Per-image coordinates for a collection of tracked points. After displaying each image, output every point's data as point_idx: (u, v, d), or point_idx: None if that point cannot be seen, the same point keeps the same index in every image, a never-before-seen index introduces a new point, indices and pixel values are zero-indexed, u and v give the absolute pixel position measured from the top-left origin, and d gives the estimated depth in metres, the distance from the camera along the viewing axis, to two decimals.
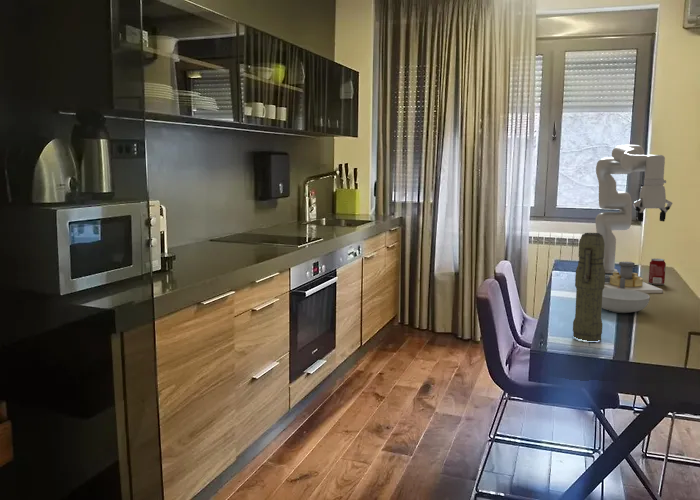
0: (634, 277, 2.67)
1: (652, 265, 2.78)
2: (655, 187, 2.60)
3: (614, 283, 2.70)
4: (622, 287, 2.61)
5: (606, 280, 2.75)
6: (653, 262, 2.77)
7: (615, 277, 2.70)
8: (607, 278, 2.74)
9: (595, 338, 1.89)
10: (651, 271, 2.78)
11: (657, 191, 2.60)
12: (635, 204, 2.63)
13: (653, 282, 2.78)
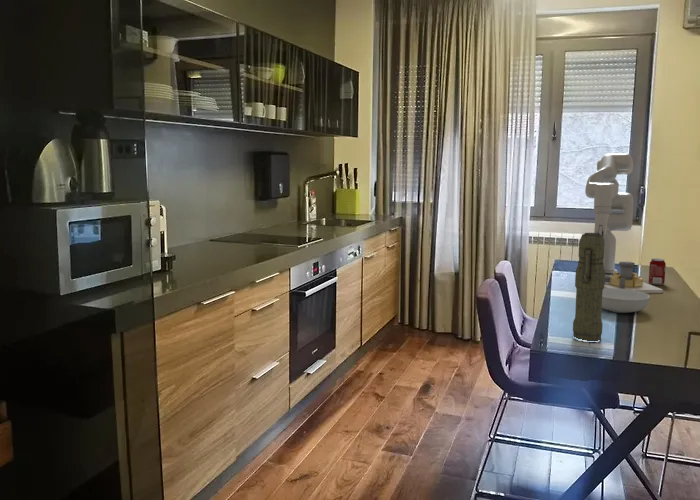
0: (634, 277, 2.67)
1: (652, 265, 2.78)
2: (607, 214, 2.75)
3: (614, 283, 2.70)
4: (622, 287, 2.61)
5: (606, 280, 2.75)
6: (653, 262, 2.77)
7: (615, 277, 2.70)
8: (607, 278, 2.74)
9: (595, 338, 1.89)
10: (651, 271, 2.78)
11: (607, 217, 2.77)
12: None
13: (653, 282, 2.78)
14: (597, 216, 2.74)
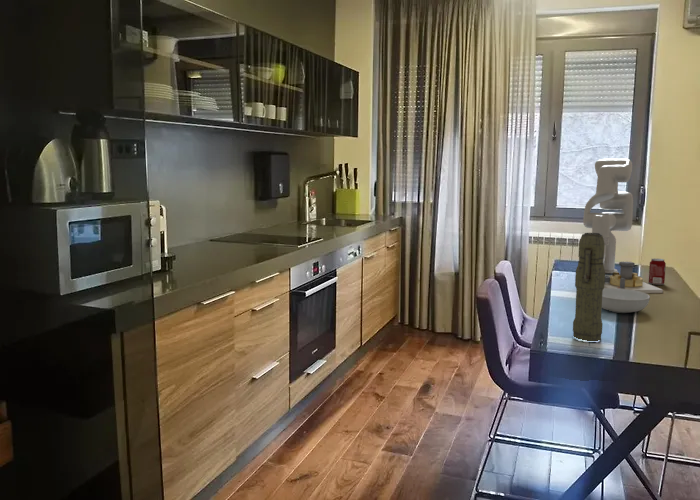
0: (634, 277, 2.67)
1: (652, 265, 2.78)
2: (605, 245, 2.75)
3: (614, 283, 2.70)
4: (622, 287, 2.61)
5: (606, 280, 2.74)
6: (653, 262, 2.77)
7: (615, 277, 2.70)
8: (607, 278, 2.74)
9: (595, 338, 1.89)
10: (651, 271, 2.78)
11: (605, 248, 2.76)
12: None
13: (653, 282, 2.78)
14: None
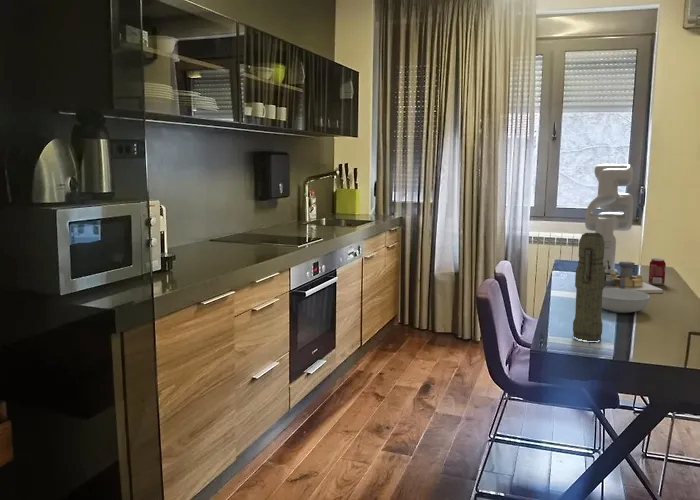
0: (638, 276, 2.70)
1: (652, 265, 2.78)
2: None
3: (625, 285, 2.67)
4: (622, 287, 2.61)
5: (614, 283, 2.68)
6: (653, 262, 2.77)
7: (626, 278, 2.66)
8: (615, 280, 2.68)
9: (595, 338, 1.89)
10: (651, 271, 2.78)
11: None
12: None
13: (653, 282, 2.78)
14: None
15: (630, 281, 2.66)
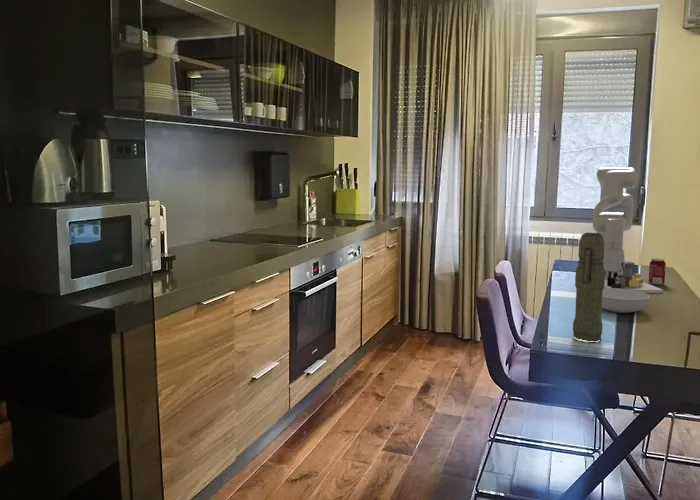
0: (638, 275, 2.72)
1: (652, 265, 2.78)
2: None
3: (633, 285, 2.66)
4: (622, 287, 2.61)
5: None
6: (653, 262, 2.77)
7: (633, 279, 2.66)
8: None
9: (595, 338, 1.89)
10: (651, 271, 2.78)
11: None
12: None
13: (653, 282, 2.78)
14: (619, 253, 2.58)
15: (637, 281, 2.66)
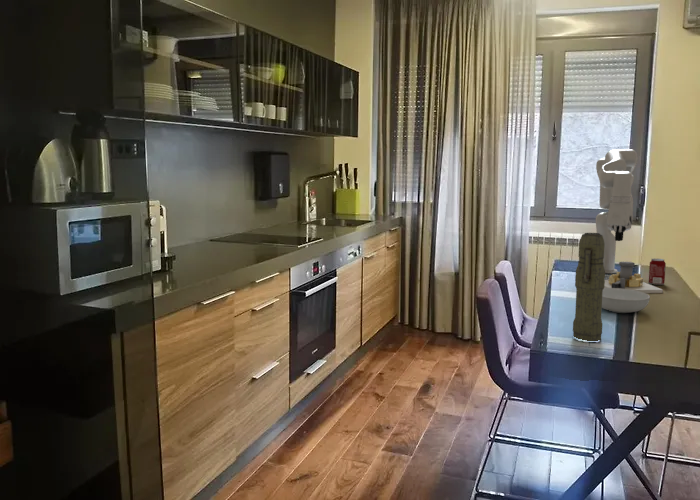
0: (638, 275, 2.72)
1: (652, 265, 2.78)
2: None
3: (633, 285, 2.66)
4: (622, 287, 2.61)
5: None
6: (653, 262, 2.77)
7: (633, 279, 2.66)
8: None
9: (595, 338, 1.89)
10: (651, 271, 2.78)
11: None
12: None
13: (653, 282, 2.78)
14: (627, 207, 2.61)
15: (637, 281, 2.66)
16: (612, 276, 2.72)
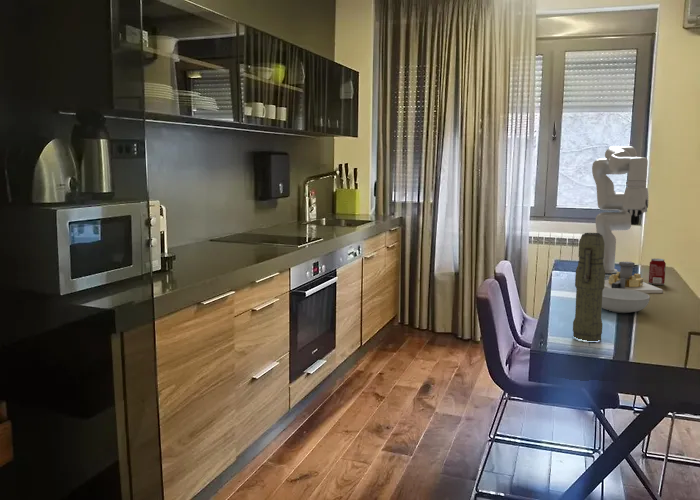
0: (638, 275, 2.72)
1: (652, 265, 2.78)
2: None
3: (633, 285, 2.66)
4: (622, 287, 2.61)
5: None
6: (653, 262, 2.77)
7: (633, 279, 2.66)
8: None
9: (595, 338, 1.89)
10: (651, 271, 2.78)
11: None
12: None
13: (653, 282, 2.78)
14: (643, 190, 2.65)
15: (637, 281, 2.66)
16: (612, 276, 2.72)
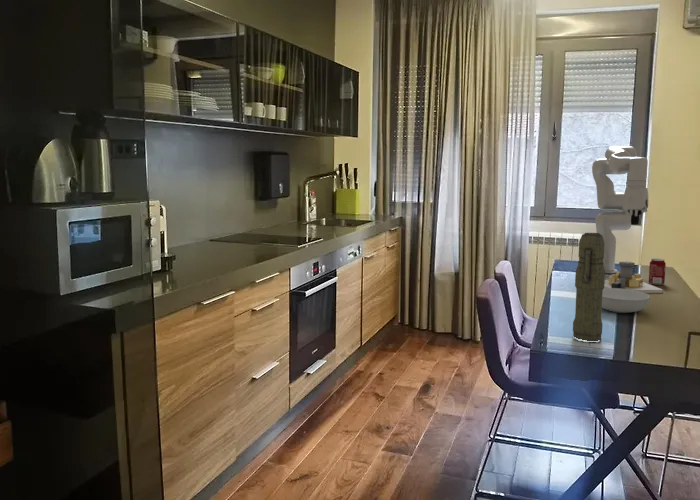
0: (638, 275, 2.72)
1: (652, 265, 2.78)
2: None
3: (633, 285, 2.66)
4: (622, 287, 2.61)
5: None
6: (653, 262, 2.77)
7: (633, 279, 2.66)
8: None
9: (595, 338, 1.89)
10: (651, 271, 2.78)
11: None
12: None
13: (653, 282, 2.78)
14: (643, 190, 2.65)
15: (637, 281, 2.66)
16: (612, 276, 2.72)
